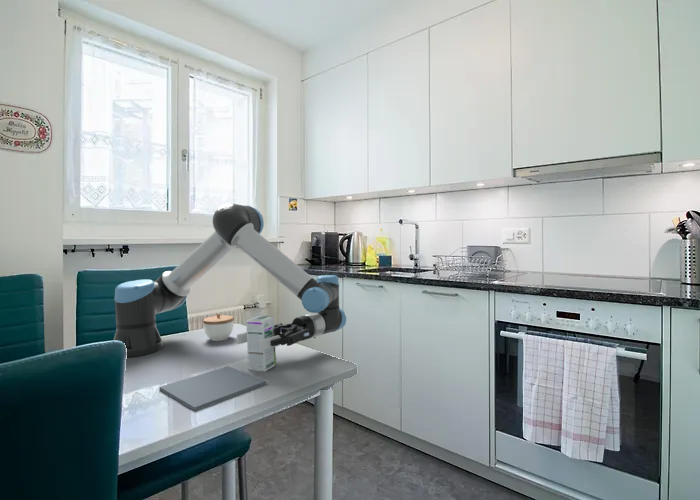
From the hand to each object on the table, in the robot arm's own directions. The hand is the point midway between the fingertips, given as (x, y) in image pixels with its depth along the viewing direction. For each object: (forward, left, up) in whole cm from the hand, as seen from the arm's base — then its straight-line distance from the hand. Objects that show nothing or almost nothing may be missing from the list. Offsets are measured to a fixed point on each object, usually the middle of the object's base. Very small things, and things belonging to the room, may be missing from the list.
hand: (248, 342), depth 104 cm
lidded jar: (-39, +13, -8) cm, 42 cm away
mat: (+2, -12, -8) cm, 14 cm away
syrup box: (0, +4, -8) cm, 10 cm away
